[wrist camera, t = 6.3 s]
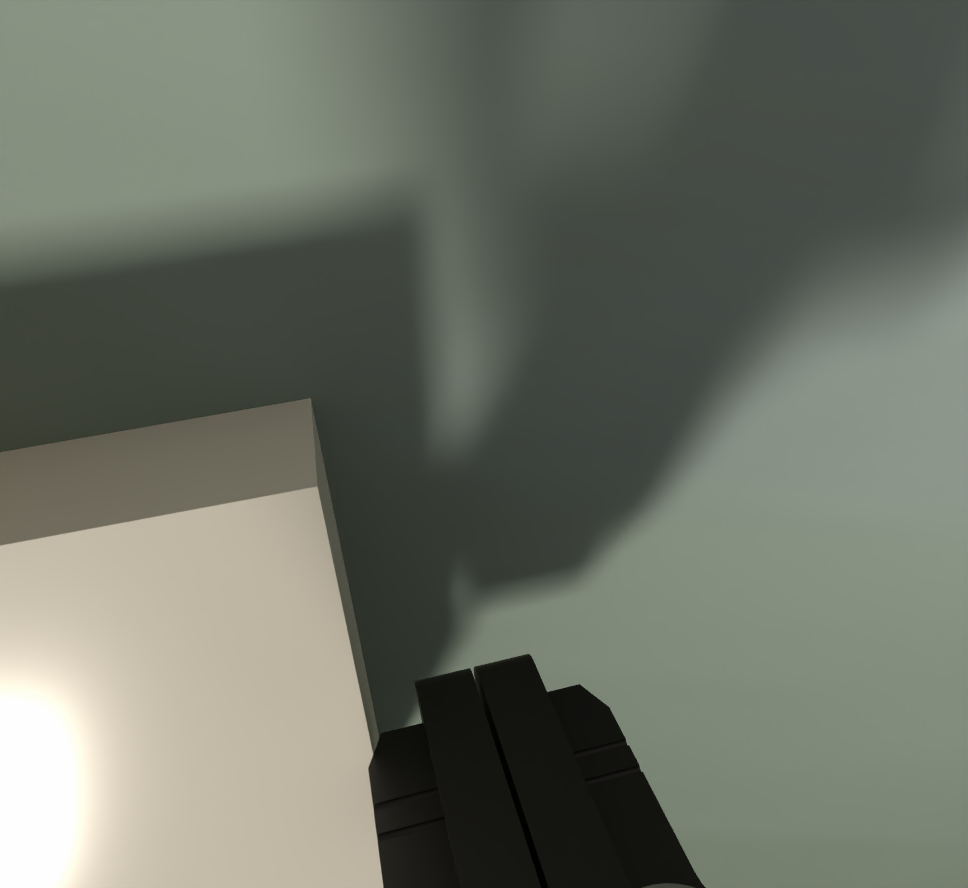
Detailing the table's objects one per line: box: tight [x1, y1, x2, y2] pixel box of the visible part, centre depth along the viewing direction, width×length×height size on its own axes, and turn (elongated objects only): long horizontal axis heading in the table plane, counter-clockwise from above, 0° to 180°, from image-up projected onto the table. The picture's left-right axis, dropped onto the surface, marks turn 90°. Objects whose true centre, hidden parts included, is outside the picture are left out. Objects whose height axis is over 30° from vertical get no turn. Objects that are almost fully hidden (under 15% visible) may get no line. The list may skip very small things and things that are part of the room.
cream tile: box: [0, 398, 383, 888], centre depth 11 cm, size 6×6×3 cm
